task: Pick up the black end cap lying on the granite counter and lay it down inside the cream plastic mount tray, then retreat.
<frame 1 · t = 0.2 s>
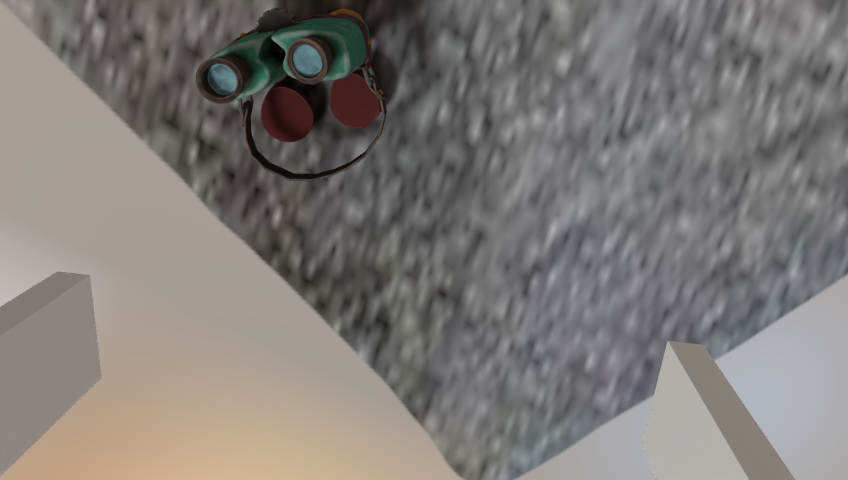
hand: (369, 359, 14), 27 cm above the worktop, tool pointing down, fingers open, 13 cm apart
binoculars: (325, 89, 40), on the worktop
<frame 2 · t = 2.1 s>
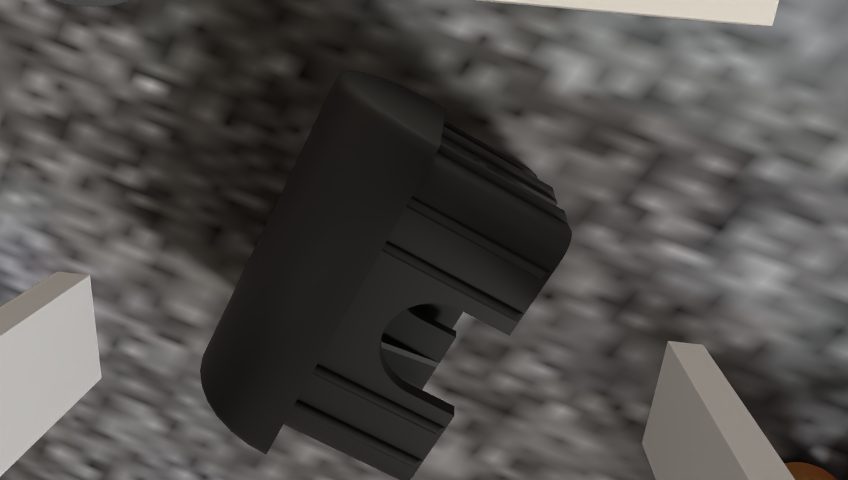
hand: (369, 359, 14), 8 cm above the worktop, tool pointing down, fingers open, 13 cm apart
end cap: (390, 235, 22), on the worktop
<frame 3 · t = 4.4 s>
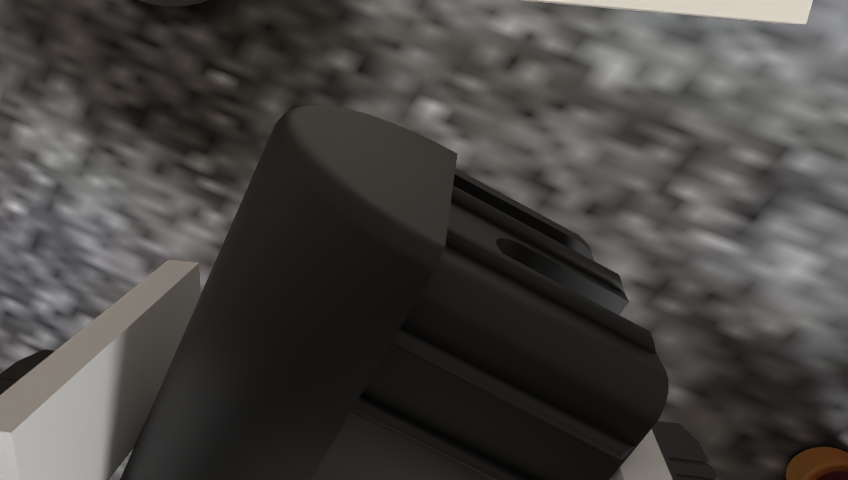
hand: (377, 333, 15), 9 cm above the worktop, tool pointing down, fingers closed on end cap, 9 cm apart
end cap: (380, 321, 16), point 8 cm above the worktop, touching gripper
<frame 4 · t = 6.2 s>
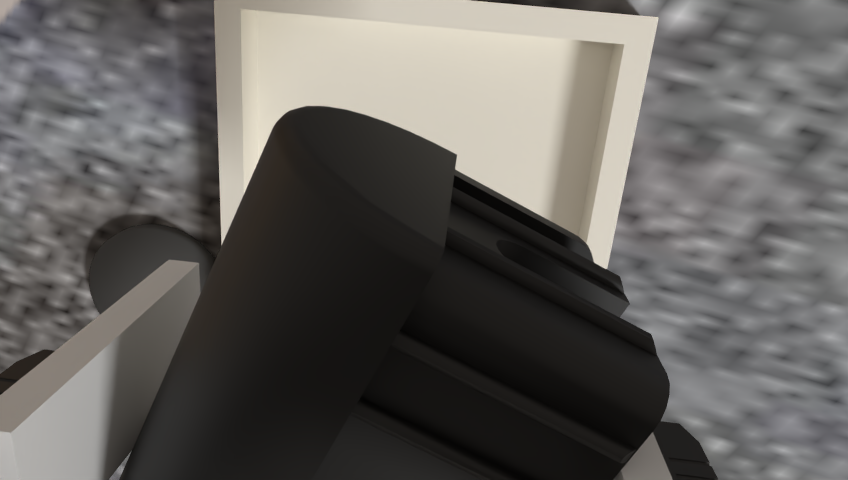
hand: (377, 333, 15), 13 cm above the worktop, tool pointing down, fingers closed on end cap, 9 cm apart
mount tray: (419, 193, 27), on the worktop
end cap: (380, 322, 16), point 12 cm above the worktop, touching gripper
lens cap: (165, 284, 30), on the worktop
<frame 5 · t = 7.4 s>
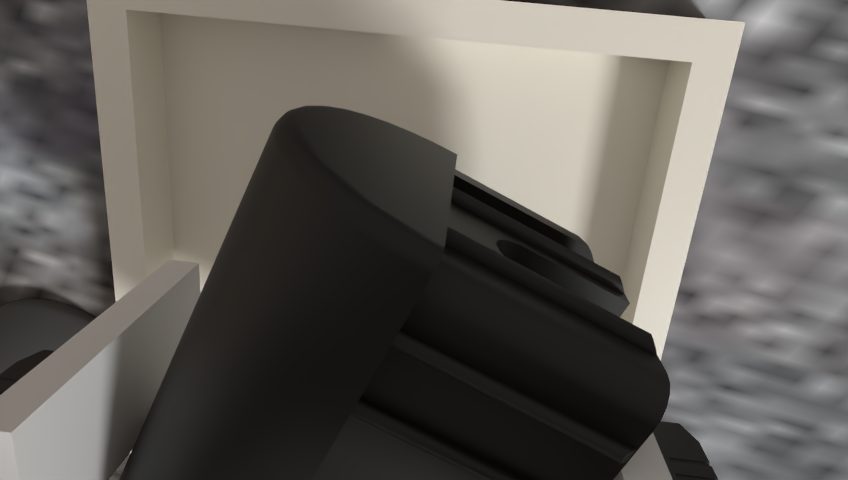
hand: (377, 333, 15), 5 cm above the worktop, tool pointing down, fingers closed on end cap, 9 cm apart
mount tray: (395, 261, 20), on the worktop
end cap: (380, 322, 16), point 4 cm above the worktop, touching gripper
lens cap: (62, 373, 23), on the worktop
when the fingers open (2 cm above the worktop, at t = 8.5 s): end cap stays where it is, resting on mount tray.
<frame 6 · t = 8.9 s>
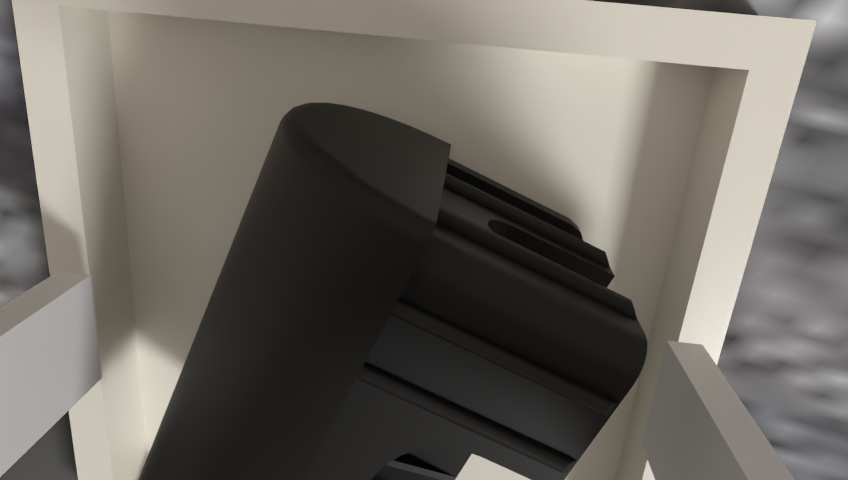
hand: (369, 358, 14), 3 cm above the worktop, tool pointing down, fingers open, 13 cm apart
mount tray: (388, 298, 17), on the worktop
end cap: (385, 307, 17), resting on mount tray
lens cap: (12, 418, 20), on the worktop
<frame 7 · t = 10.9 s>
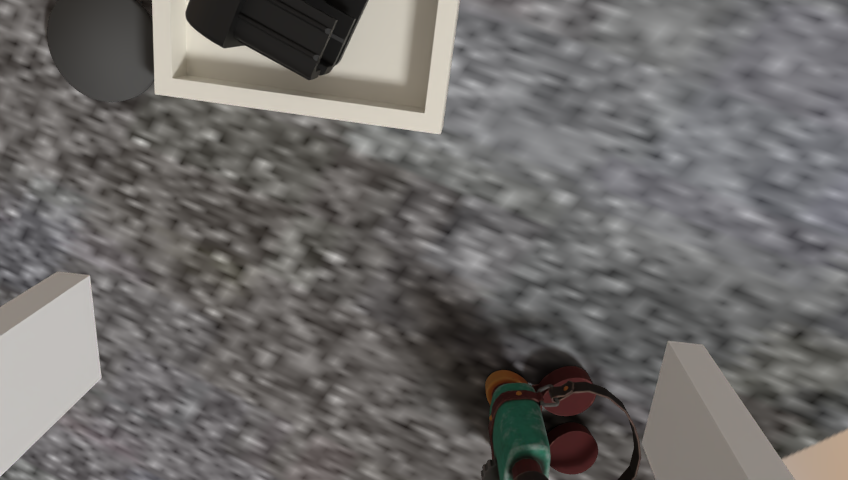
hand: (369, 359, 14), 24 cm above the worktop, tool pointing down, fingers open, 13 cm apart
binoculars: (553, 408, 42), on the worktop
lens cap: (111, 44, 36), on the worktop
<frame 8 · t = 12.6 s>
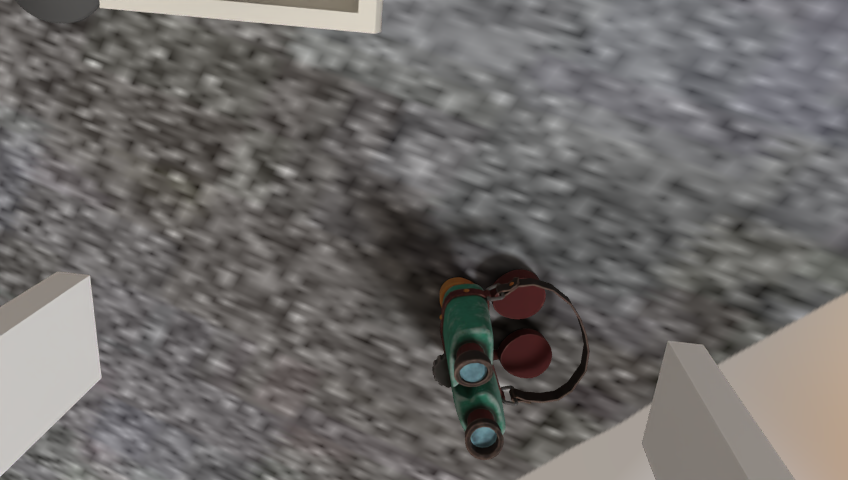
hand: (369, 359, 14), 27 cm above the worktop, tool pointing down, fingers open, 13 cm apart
binoculars: (507, 315, 43), on the worktop
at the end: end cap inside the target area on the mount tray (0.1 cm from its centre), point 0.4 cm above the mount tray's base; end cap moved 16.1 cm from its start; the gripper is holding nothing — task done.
